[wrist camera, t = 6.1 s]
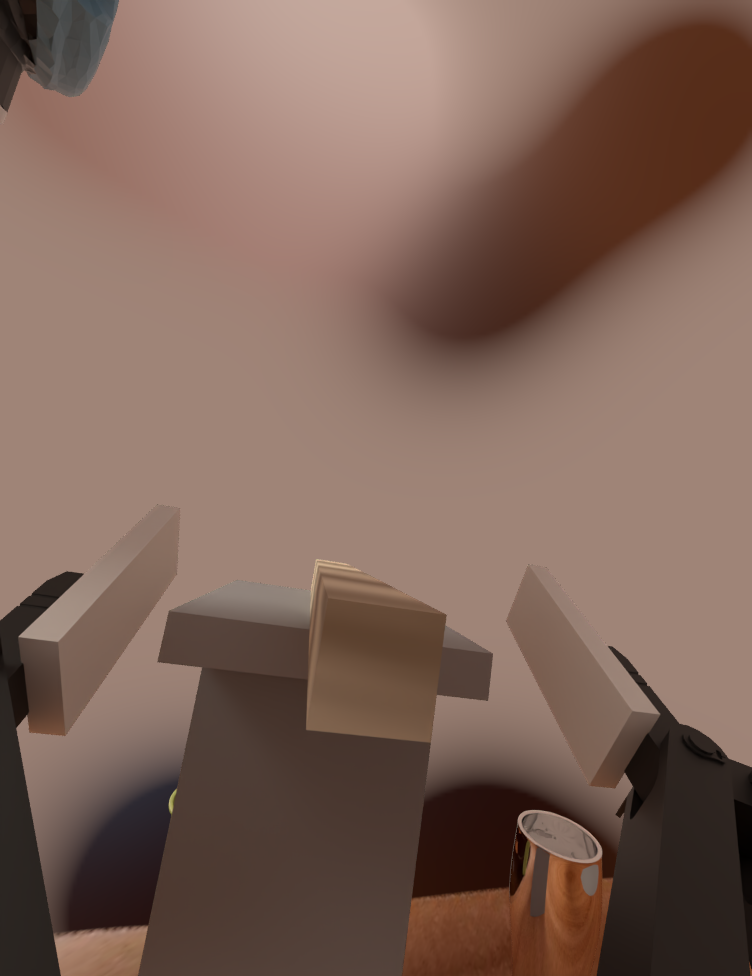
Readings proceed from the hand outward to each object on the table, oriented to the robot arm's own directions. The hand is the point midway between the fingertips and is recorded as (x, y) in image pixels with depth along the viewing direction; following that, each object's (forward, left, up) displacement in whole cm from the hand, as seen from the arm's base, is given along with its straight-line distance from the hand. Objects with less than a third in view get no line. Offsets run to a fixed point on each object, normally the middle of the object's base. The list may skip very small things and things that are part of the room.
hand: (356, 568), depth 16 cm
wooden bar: (-2, +5, -3) cm, 6 cm away
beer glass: (+14, +27, -35) cm, 47 cm away
